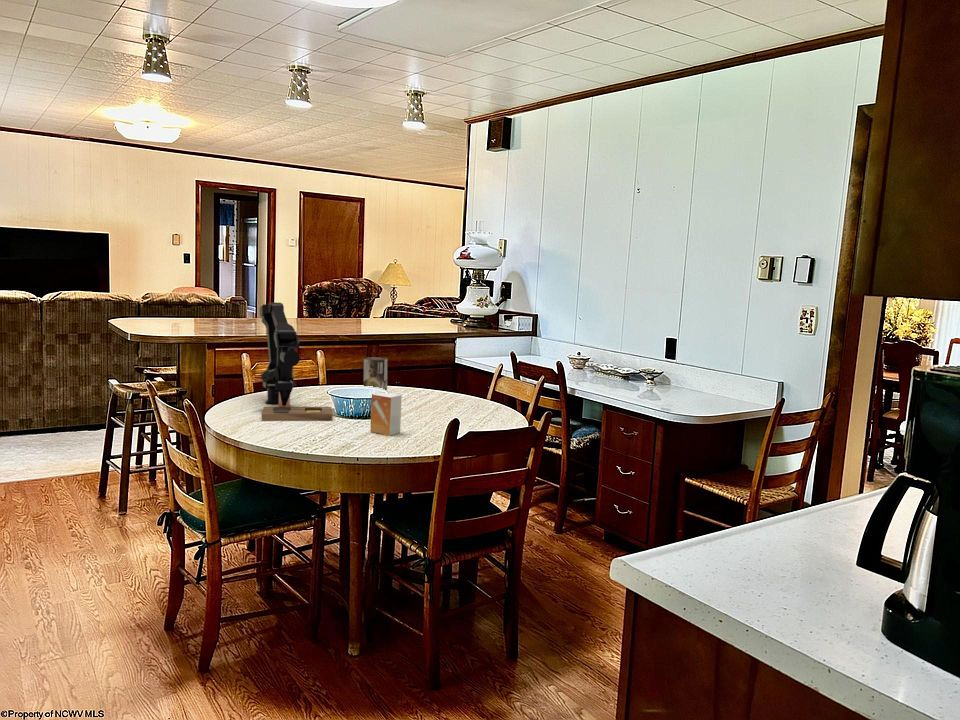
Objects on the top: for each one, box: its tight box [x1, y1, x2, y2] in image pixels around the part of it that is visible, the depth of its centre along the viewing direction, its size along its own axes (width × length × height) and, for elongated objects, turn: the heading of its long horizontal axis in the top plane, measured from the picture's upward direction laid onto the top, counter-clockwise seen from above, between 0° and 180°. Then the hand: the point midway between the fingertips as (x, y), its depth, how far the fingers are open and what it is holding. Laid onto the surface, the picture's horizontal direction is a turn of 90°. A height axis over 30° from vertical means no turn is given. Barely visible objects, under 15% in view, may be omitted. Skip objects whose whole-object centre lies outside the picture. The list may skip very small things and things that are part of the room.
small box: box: [370, 392, 403, 437], centre depth 247 cm, size 8×6×13 cm
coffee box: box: [363, 356, 389, 391], centre depth 310 cm, size 9×6×16 cm
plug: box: [278, 392, 291, 407], centre depth 273 cm, size 4×4×8 cm
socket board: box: [261, 406, 333, 422], centre depth 264 cm, size 12×24×3 cm, turn 103°
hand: (284, 404), depth 273 cm, fingers open, 5 cm apart
